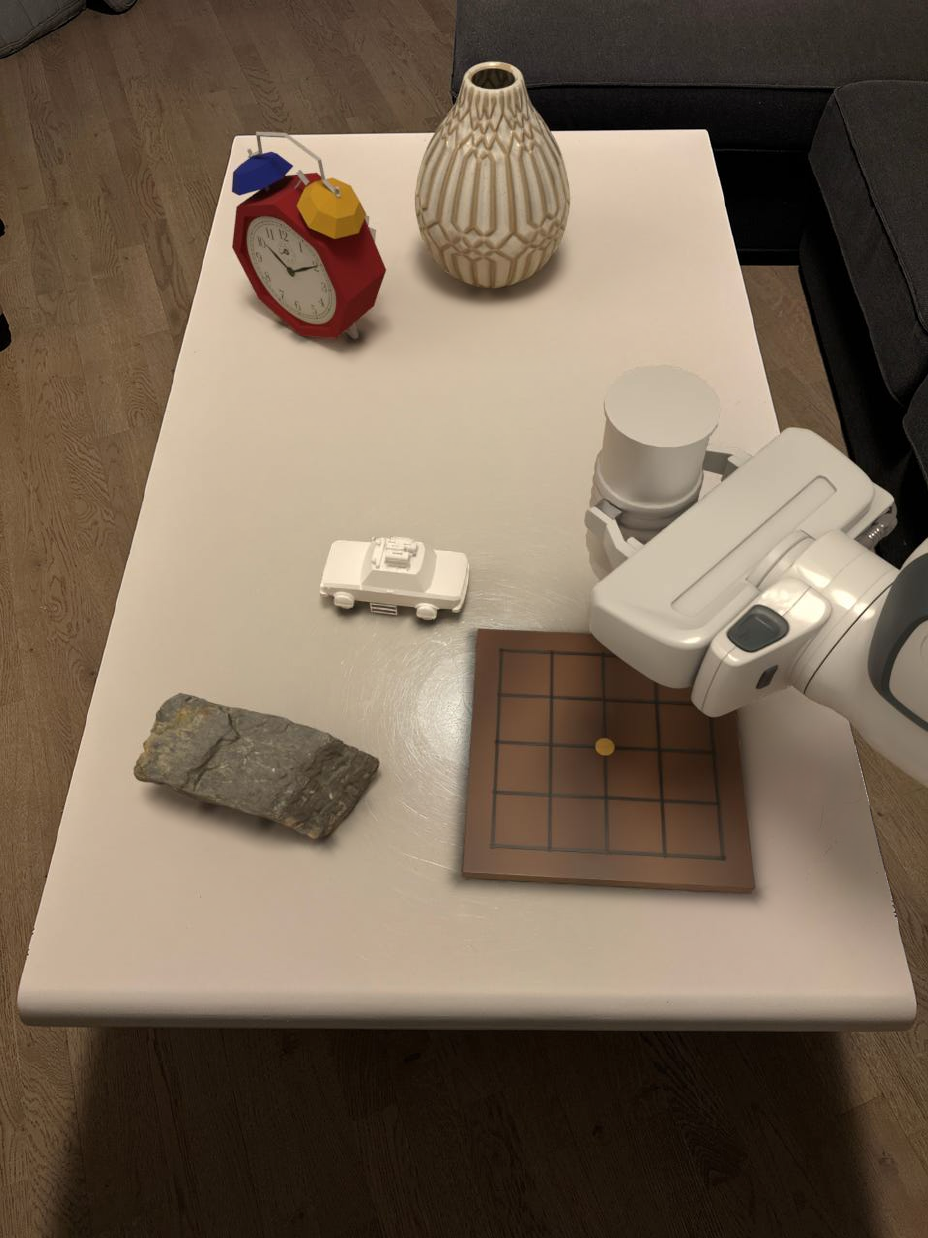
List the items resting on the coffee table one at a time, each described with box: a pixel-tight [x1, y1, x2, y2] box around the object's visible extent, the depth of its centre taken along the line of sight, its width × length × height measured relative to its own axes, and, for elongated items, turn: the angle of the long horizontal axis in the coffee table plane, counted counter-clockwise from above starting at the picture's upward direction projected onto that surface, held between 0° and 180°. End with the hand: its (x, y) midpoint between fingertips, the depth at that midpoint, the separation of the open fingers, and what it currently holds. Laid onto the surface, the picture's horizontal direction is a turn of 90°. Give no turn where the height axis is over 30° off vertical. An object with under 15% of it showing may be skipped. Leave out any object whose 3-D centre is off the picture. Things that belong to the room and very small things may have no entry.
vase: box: [414, 61, 571, 289], centre depth 94 cm, size 16×16×20 cm
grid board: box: [461, 628, 756, 894], centre depth 70 cm, size 20×20×1 cm
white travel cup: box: [585, 364, 722, 581], centre depth 61 cm, size 7×7×15 cm
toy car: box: [319, 535, 470, 621], centre depth 76 cm, size 6×12×7 cm, turn 81°
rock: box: [133, 692, 381, 839], centre depth 68 cm, size 17×7×10 cm
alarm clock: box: [231, 131, 387, 340], centre depth 90 cm, size 15×9×20 cm, turn 54°
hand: (635, 477), depth 61 cm, fingers closed on white travel cup, 7 cm apart
